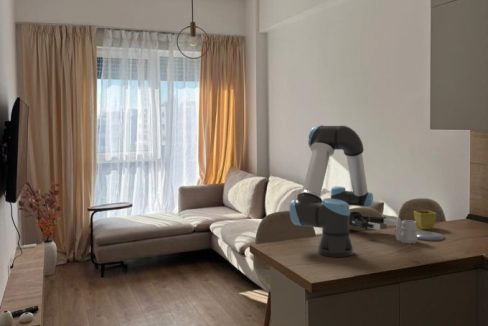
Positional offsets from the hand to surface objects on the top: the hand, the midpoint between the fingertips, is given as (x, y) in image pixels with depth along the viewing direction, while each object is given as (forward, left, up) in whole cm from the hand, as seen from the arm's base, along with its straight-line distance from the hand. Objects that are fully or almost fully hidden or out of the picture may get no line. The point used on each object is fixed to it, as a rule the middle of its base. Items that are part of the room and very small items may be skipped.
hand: (387, 225), depth 227 cm
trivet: (+20, +3, -7) cm, 21 cm away
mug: (+7, -7, -7) cm, 12 cm away
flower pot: (+24, +22, -7) cm, 34 cm away
